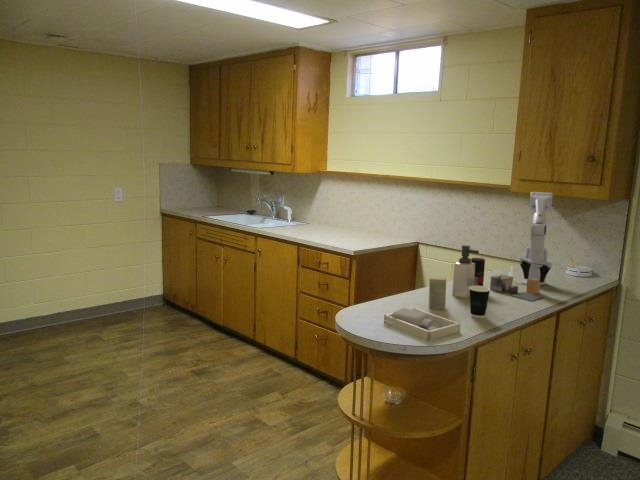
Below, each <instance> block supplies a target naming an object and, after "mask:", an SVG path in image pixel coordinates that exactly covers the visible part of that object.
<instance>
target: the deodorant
mask: <svg viewBox="0 0 640 480" xmlns="http://www.w3.org/2000/svg"><path fill="white" fill-rule="evenodd" d="M470 259H471V262H472V263H475V275H474V286H484V278H485V267H486V266H485V265H486V259H485V258H482V257H471V258H470Z"/></svg>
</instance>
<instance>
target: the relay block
mask: <svg viewBox="0 0 640 480" xmlns="http://www.w3.org/2000/svg"><path fill="white" fill-rule="evenodd" d="M540 291H541V285H540V280H538V279H534V278H531V279H527V284H526V291H525V292H526V293H530V294H534V295H538V294H540Z"/></svg>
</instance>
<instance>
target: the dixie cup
mask: <svg viewBox="0 0 640 480" xmlns="http://www.w3.org/2000/svg"><path fill="white" fill-rule="evenodd" d="M469 289H470V297H469V306H470V307H469V308H470V309H469V310H470V316H471V317H472V318H475V319H484V318H485V315H486V312H487V306H488V302H489V298H490V297H489V296H490V292H491V291H492V290H491V289H490V287H488V286H484V285H483V286H470V287H469Z"/></svg>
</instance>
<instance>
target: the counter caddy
mask: <svg viewBox="0 0 640 480" xmlns="http://www.w3.org/2000/svg"><path fill="white" fill-rule="evenodd" d="M410 309H411V310H415V311H419V312H424V313H426V314H427V319H429V320H433V321H434V323H436V324H437V325H438V326H440V327H438V328H434V329H432V330H428V329H425V328H424V327H421V328H420V327H418V326H415V325H412V324H410V323H407V322H404V321H402V320H399V319H396V318H394V317H392V314H393V313H394V312H391V313H387V314H384V315H383V324H386V325H389V326H391V327H394V328H396V329H399V330H401V331H404V332H406V333H409V334H411V335H414V336H417V337H419V338H420V339H424V340H427V341H428V342H429V341H432V340H436V339H439V338H442V337H446V336H451V335H453V334H457V333H460V332H461V323H459V322H456V321H454V320H450V319H448V318H445V317H442V316H439V315H437V314H434V313H430V312H427V311H425V310H422V309H419V308H416V307H414V308H413V307H412V308H410ZM385 320H386V321H385ZM387 321H388V322H387ZM390 322H391V323H390ZM437 325H436V326H437Z"/></svg>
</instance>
